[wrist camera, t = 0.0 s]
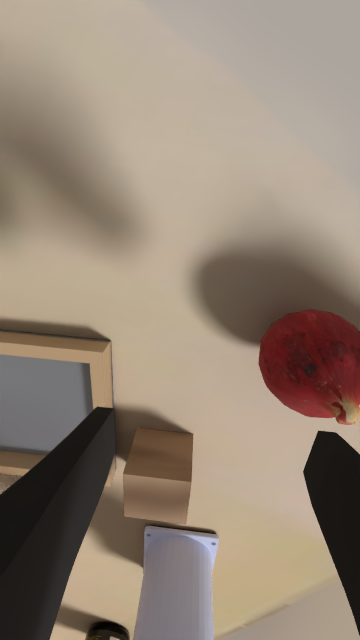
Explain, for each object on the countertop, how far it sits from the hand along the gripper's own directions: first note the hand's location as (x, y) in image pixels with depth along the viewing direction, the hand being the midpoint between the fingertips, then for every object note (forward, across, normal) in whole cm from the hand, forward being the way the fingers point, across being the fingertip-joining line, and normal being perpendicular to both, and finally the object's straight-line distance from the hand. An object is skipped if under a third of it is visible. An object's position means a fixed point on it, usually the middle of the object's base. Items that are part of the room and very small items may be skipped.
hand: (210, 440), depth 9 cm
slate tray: (+10, +14, +9) cm, 19 cm away
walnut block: (+10, +2, +13) cm, 17 cm away
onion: (+10, -6, 0) cm, 12 cm away
